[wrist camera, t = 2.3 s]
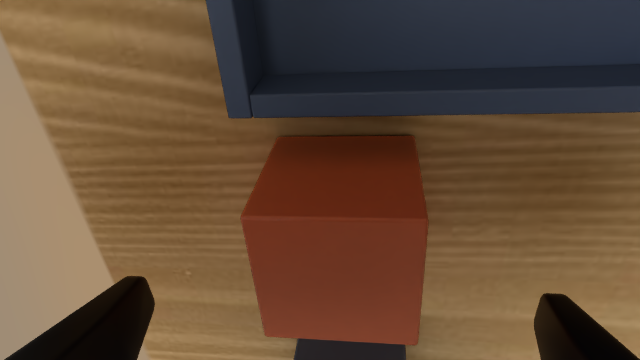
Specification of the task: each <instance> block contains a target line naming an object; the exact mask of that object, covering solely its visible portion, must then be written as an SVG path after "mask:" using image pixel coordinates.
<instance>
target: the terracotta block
mask: <svg viewBox="0 0 640 360" xmlns="http://www.w3.org/2000/svg"><path fill="white" fill-rule="evenodd" d="M241 223H242V228H243V232H244V237H245V242H246V247H247V252H248V256H249V261H250V266H251V271H252V276H253V280H254V285H255V290H256V295H257V299H258V304H259V309H260V314H261V319H262V323H263V328H264V333H265V336H267V337H284V338H301V339H317V340H334V341H351V342H368V343H385V344H402V345H417V343H418V338H419V326H420V315H421V304H422V292H423V281H424V269H425V258H426V247H427V235H428V224H429V220H428V214H427V208H426V202H425V196H424V190H423V184H422V178H421V172H420V166H419V160H418V154H417V148H416V142H415V138H414V136H311V137H278V138H277V139H276V142H275V144H274V146H273V148H272V150H271V152H270V154H269V157H268V159H267V161H266V163H265V165H264V167H263V170H262V172H261V174H260V176H259V178H258V180H257V182H256V185H255V187H254V189H253V191H252V193H251V195H250V197H249V200H248V202H247V204H246V206H245V208H244V210H243V213H242V215H241Z"/></svg>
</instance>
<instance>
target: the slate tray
mask: <svg viewBox="0 0 640 360" xmlns="http://www.w3.org/2000/svg"><path fill="white" fill-rule="evenodd" d="M206 4H207V9H208V14H209V19H210V24H211V30H212V35H213V40H214V45H215V50H216V55H217V60H218V65H219V70H220V75H221V80H222V86H223V91H224V96H225V101H226V106H227V111H228V116H229V118H252V117H254V118H285V117H352V116H419V115H486V114H552V113H619V112H640V0H206Z"/></svg>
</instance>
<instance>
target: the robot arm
mask: <svg viewBox="0 0 640 360" xmlns="http://www.w3.org/2000/svg"><path fill="white" fill-rule="evenodd" d="M154 306H155V302H154V298H153V295H152V293H151V290H150V287H149V285H148V282H147V280H146V279H145V278H144V277H142V276H127V277H125V278H123V279H122V280H120V281H119V282H117V283H116V284H114V285H113V286H111V287H110V288H109V289H107V290H106V291H104V292H103V293H101V294H100V295H98V296H97V297H96V298H94V299H93V300H91V301H90V302H88V303H87V304H85V305H84V306H83V307H81V308H79V309H78V310H76V311H75V312H73V313H72V314H70V315H69V316H68V317H66V318H65V319H63V320H62V321H60V322H59V323H57V324H56V325H54V326H53V327H51V328H50V329H49V330H47V331H46V332H44V333H43V334H41V335H40V336H38V337H37V338H35V339H34V340H32V341H31V342H30V343H28V344H27V345H25V346H24V347H22V348H21V349H19V350H18V351H16V352H15V353H13V354H12V355H10V356H9V357H8V358H6V359H5V360H137V358H138V355H139V352H140V348H141V346H142V343H143V340H144V337H145V334H146V332H147V329H148V326H149V323H150V320H151V317H152V314H153V311H154ZM534 330H535V335H536V339H537V344H538V348H539V352H540V357H541V360H640V359H639V358H638V357H636V356H635V355H634V354H633V353H632V352H631V351H630V350H628V349H627V348H626V347H625V346H624V345H623V344H622V343H620V342H619V341H618V340H617V339H616V338H615V337H613V336H612V335H611V334H610V333H609V332H608V331H607V330H605V329H604V328H603V327H602V326H601V325H600V324H598V323H597V322H596V321H595V320H594V319H593V318H592V317H590V316H589V315H588V314H587V313H586V312H585V311H583V310H582V309H581V308H580V307H579V306H578V305H577V304H575V303H574V302H573V301H572V300H571V299H570V298H568V297H567V296H566V295H564V294H552V293H545V294H543V295H542V296H541V298H540V302H539V305H538V308H537V311H536V315H535V318H534Z"/></svg>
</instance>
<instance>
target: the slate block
mask: <svg viewBox="0 0 640 360" xmlns="http://www.w3.org/2000/svg"><path fill="white" fill-rule="evenodd" d="M294 360H406V352H405V345H402V344H385V343H368V342H351V341H334V340H317V339H301V338H298V341H297V346H296V351H295V356H294Z"/></svg>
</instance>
